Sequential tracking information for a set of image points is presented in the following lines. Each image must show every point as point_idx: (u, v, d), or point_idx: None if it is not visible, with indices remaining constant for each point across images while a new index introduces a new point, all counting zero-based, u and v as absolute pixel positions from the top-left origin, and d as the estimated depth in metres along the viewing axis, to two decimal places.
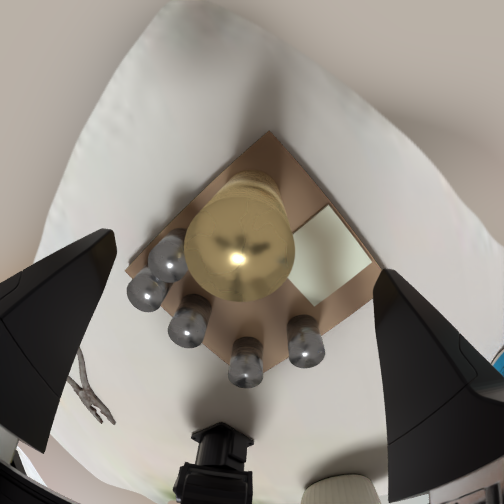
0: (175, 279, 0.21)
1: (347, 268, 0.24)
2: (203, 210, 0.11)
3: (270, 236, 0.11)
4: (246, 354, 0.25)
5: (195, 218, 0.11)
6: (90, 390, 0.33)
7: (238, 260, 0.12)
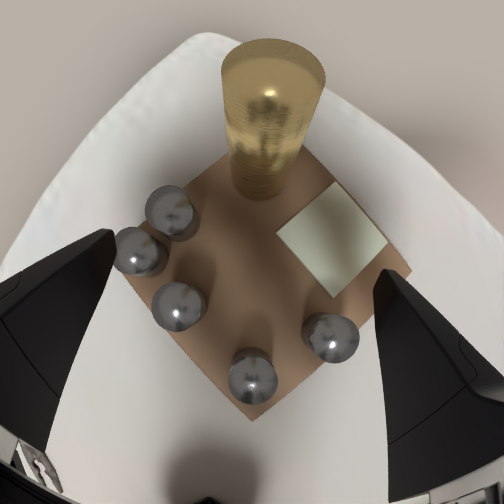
0: (174, 227, 0.18)
1: (364, 249, 0.22)
2: (244, 43, 0.11)
3: (301, 61, 0.11)
4: (253, 354, 0.18)
5: (236, 48, 0.11)
6: None
7: (273, 74, 0.11)
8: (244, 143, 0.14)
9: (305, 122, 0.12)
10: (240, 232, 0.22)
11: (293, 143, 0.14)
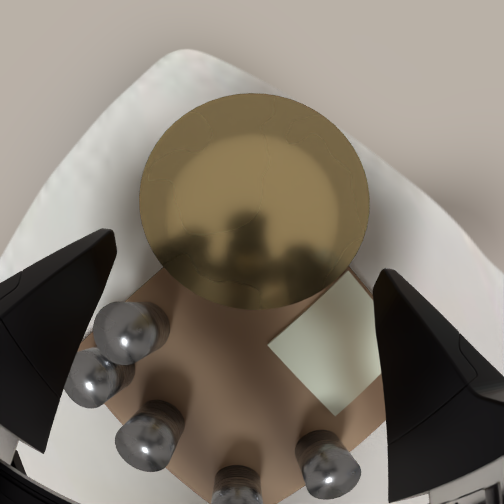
0: (130, 360, 0.12)
1: (377, 357, 0.16)
2: (193, 110, 0.06)
3: (320, 158, 0.05)
4: (237, 487, 0.13)
5: (176, 124, 0.06)
6: None
7: (254, 202, 0.05)
8: None
9: None
10: (221, 343, 0.16)
11: None
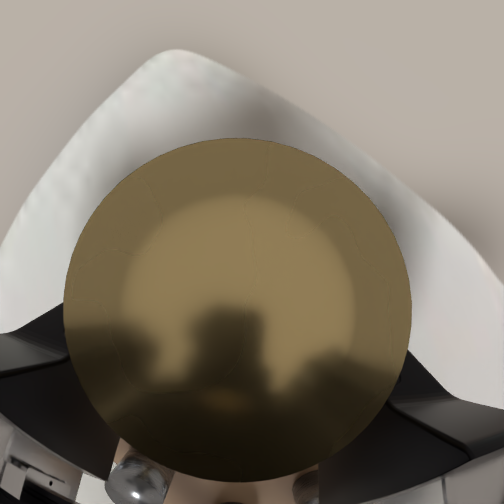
0: None
1: None
2: (133, 174, 0.03)
3: (341, 262, 0.03)
4: None
5: (107, 200, 0.03)
6: None
7: (231, 348, 0.03)
8: None
9: None
10: None
11: None
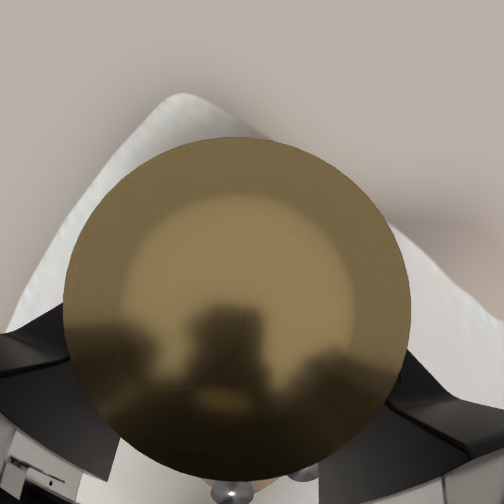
0: None
1: None
2: (133, 173, 0.03)
3: (341, 260, 0.03)
4: None
5: (107, 199, 0.03)
6: None
7: (230, 346, 0.03)
8: None
9: None
10: None
11: None
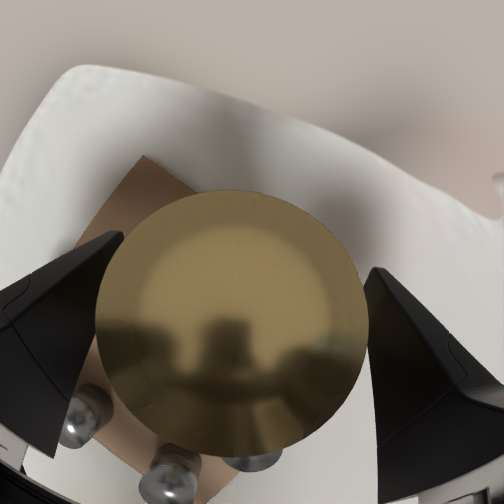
0: None
1: None
2: (147, 220, 0.04)
3: (310, 290, 0.04)
4: (162, 462, 0.12)
5: (127, 240, 0.04)
6: None
7: (225, 354, 0.04)
8: None
9: None
10: None
11: None
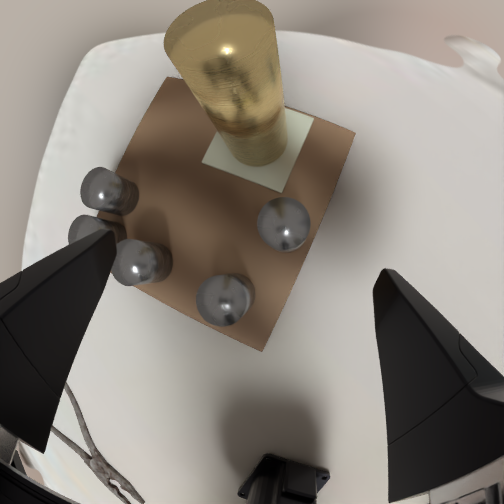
0: (104, 198, 0.18)
1: (291, 134, 0.20)
2: (182, 13, 0.09)
3: (244, 10, 0.09)
4: None
5: (175, 20, 0.09)
6: (98, 455, 0.23)
7: (216, 32, 0.09)
8: (216, 110, 0.12)
9: (269, 69, 0.10)
10: (172, 178, 0.22)
11: (267, 96, 0.12)
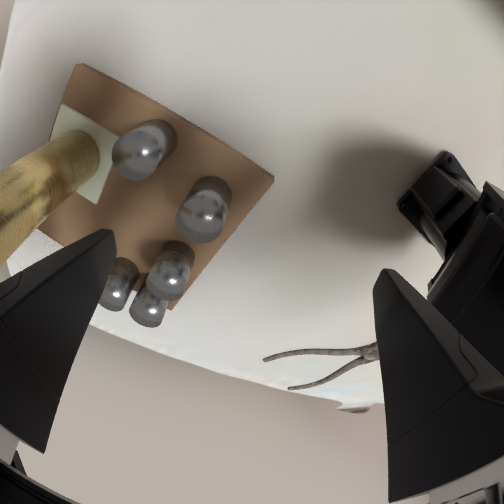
0: (116, 294, 0.23)
1: (74, 126, 0.18)
2: None
3: None
4: None
5: None
6: (360, 349, 0.32)
7: None
8: (32, 225, 0.13)
9: None
10: (110, 228, 0.24)
11: (18, 187, 0.12)
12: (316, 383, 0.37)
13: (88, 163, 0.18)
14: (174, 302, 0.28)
